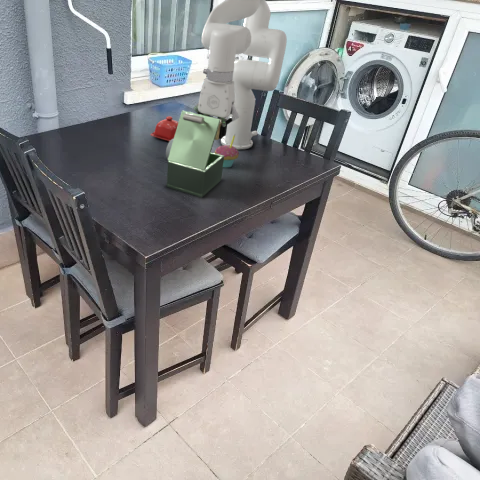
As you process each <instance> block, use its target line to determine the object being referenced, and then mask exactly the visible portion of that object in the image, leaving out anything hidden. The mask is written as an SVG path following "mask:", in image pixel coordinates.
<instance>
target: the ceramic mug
mask: <svg viewBox="0 0 480 480" xmlns="http://www.w3.org/2000/svg"><path fill="white" fill-rule="evenodd" d="M173 140H174V139H172V140H171V141H168V143H167V146H166V150H165V157H166V159H167V160H168V157H169V154H170V150H171V147H172V143H173Z"/></svg>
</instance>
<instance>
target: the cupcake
mask: <svg viewBox="0 0 480 480" xmlns="http://www.w3.org/2000/svg"><path fill="white" fill-rule="evenodd" d="M234 138H235V135H234V136H233V138H232V141H231V145H219V146H218V147H216V148H215V150H214V153H216V154H219V155H223V156H224V162H223V168H231V167H232V166H233V164H234V162H235V160H236V159H238V158H239V155H240V151H239V149H236V148H235V147H233V146H232V145H233V141H234Z"/></svg>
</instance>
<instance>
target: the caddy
mask: <svg viewBox="0 0 480 480" xmlns="http://www.w3.org/2000/svg"><path fill="white" fill-rule="evenodd" d="M223 162H224V156H223V155H219V154H216V153H215V152H212V151H211V153H210V156H209V160H208V163H207V166H206V169H205V171H204V170H201V169H197V168H193V167H190V166H186V165H183V164H179V163H176V162H172V161H168V160H167V173H166V174H167V175H166V188H169V189H172V190H175V191H179V192H182V193H186V194H188V195H192V196H194V197H197V198H203V197H204V196H205V195H207V194H208V193H209V192H210V191H211V190H212V189H214V187H215V186H217V185H218V184H219V183H220V182H221V181H222V179H223V178H222V177H223V169H224V167H223Z"/></svg>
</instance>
